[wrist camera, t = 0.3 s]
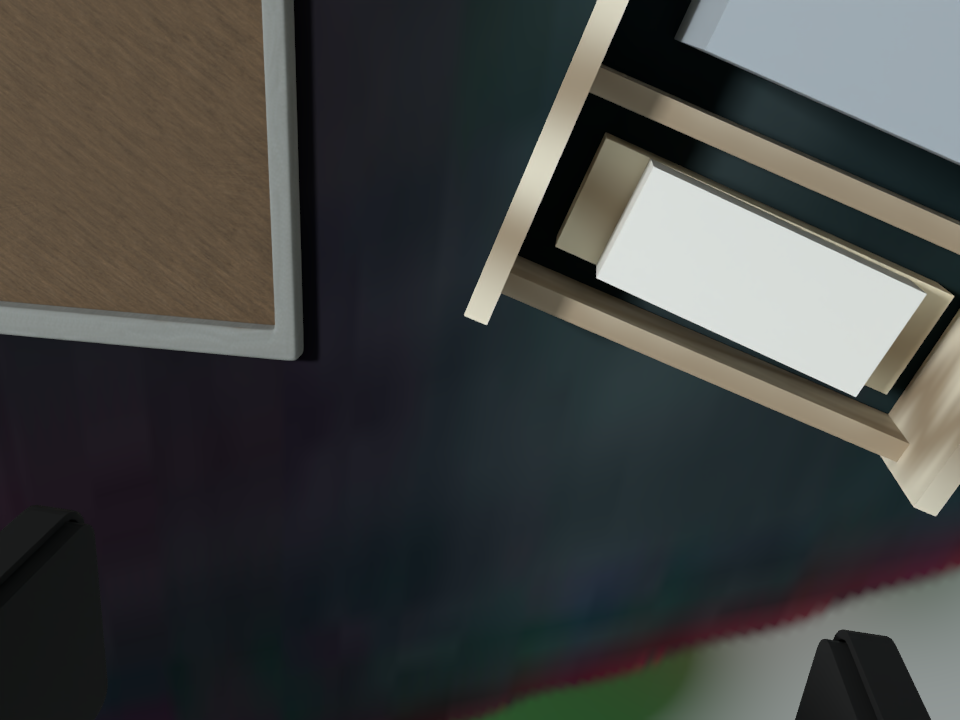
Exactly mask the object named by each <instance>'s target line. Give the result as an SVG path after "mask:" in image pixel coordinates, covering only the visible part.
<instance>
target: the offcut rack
mask: <svg viewBox="0 0 960 720" xmlns="http://www.w3.org/2000/svg"><path fill="white" fill-rule="evenodd" d="M628 2H629V0H597V3H596V5H595V7H594V10H593V12H592V14H591V17H590V19H589V21H588V24H587V26H586V29H585V31H584V33H583V36H582V38H581V40H580V43H579V45H578V47H577V50H576V52H575V54H574V57H573V59H572V62H571V64H570V66H569V69H568V71H567V73H566V76H565V78H564V80H563V83H562V85H561V87H560V90H559V92H558V95H557V97H556V99H555V102H554V104H553V106H552V109H551V111H550V113H549V116H548V118H547V120H546V123H545V125H544V128H543V130H542V132H541V135H540V137H539V139H538V142H537V144H536V146H535V149H534V151H533V153H532V156H531V158H530V161H529V163H528V165H527V168H526V170H525V172H524V175H523V177H522V179H521V182H520V184H519V186H518V189H517V191H516V194H515V196H514V198H513V201H512V203H511V205H510V208H509V210H508V212H507V215H506V217H505V220H504V222H503V224H502V227H501V229H500V231H499V234H498V236H497V238H496V241H495V243H494V245H493V248H492V250H491V253H490V255H489V257H488V260H487V262H486V264H485V267H484V269H483V271H482V274H481V276H480V278H479V281H478V283H477V286H476V288H475V290H474V293H473V295H472V297H471V300H470V302H469V304H468V307H467V309H466V311H465V314H464V316H466V317H469V318H471V319H473V320H476V321H478V322H480V323H483V324H485V325H487V324H488V321H489V319H490V317H491V314H492V312H493V310H494V308H495V305H496V303H497V301H498V298H499V296H500V294H501V293H502V294H504V295H507V296H509V297H511V298H514V299H516V300H518V301H521V302H523V303H525V304H528V305H530V306H532V307H535V308H537V309H539V310H542V311H544V312H547V313H549V314H551V315H554V316H556V317H558V318H561V319H563V320H565V321H568V322H570V323H572V324H575V325H577V326H579V327H582V328H584V329H586V330H589V331H591V332H593V333H596V334H598V335H600V336H603V337H605V338H607V339H610V340H612V341H614V342H617V343H619V344H621V345H624V346H626V347H628V348H631V349H633V350H635V351H638V352H640V353H642V354H645V355H647V356H649V357H652V358H654V359H656V360H659V361H661V362H663V363H666V364H668V365H670V366H673V367H675V368H677V369H680V370H682V371H684V372H687V373H689V374H691V375H694V376H696V377H698V378H701V379H703V380H705V381H708V382H710V383H713V384H715V385H717V386H720V387H722V388H724V389H727V390H729V391H731V392H734V393H736V394H738V395H741V396H743V397H745V398H748V399H750V400H752V401H755V402H757V403H759V404H762V405H764V406H766V407H769V408H771V409H773V410H776V411H778V412H780V413H783V414H785V415H787V416H790V417H792V418H794V419H797V420H799V421H801V422H804V423H806V424H808V425H811V426H813V427H815V428H818V429H820V430H822V431H825V432H827V433H829V434H832V435H834V436H836V437H839V438H841V439H843V440H846V441H848V442H850V443H853V444H855V445H857V446H860V447H862V448H864V449H867V450H869V451H872V452H874V453H876V454H879V455H880V456H881V457H882V459H883V460H884V462H885V464H886V465H887V467H888V468H889V470H890V471H891V473H892V474H893V476H894V477H895V479H896V481H897V482H898V484H899V485H900V487H901V488H902V490H903V491H904V493H905V494H906V496H907V498H908V499H909V501H910V502H911V504H912V505H913V507H915V508H917V509H919V510H922V511H924V512H926V513H929V514H931V515H933V516H936V515H937V514H938V513H939V511H940V510H941V509H942V507H943V506H944V505H945V503H946V502H947V501H948V499H949V498H950V497H951V495H952V494H953V492H954V491H955V490H956V488H957V487H958V486H959V484H960V309H959V311H958V312H957V314H956V315H955V317H954V318H953V319H952V321H951V322H950V324H949V325H948V327H947V328H946V330H945V331H944V333H943V334H942V336H941V337H940V339H939V340H938V342H937V343H936V345H935V346H934V348H933V349H932V351H931V352H930V353H929V355H928V356H927V358H926V359H925V361H924V362H923V364H922V365H921V367H920V368H919V370H918V371H917V373H916V374H915V376H914V377H913V379H912V380H911V382H910V383H909V385H908V386H907V387H906V389H905V390H904V392H903V393H902V395H901V396H900V398H899V399H898V401H897V402H896V404H895V405H894V407H893V408H892V410H891V411H890V413H889V414H886V413H883V412H881V411H879V410H877V409H874V408H872V407H870V406H867V405H865V404H863V403H860V402H858V401H856V400H853V399H851V398H849V397H846V396H844V395H842V394H839V393H837V392H835V391H832V390H830V389H828V388H825V387H823V386H821V385H818V384H816V383H814V382H811V381H809V380H807V379H804V378H802V377H800V376H797V375H795V374H793V373H790V372H788V371H786V370H783V369H781V368H779V367H776V366H774V365H772V364H769V363H767V362H765V361H762V360H760V359H758V358H756V357H753V356H751V355H749V354H746V353H744V352H742V351H739V350H737V349H735V348H732V347H730V346H728V345H725V344H723V343H721V342H718V341H716V340H714V339H711V338H709V337H707V336H704V335H702V334H700V333H697V332H695V331H693V330H690V329H688V328H686V327H683V326H681V325H679V324H676V323H674V322H672V321H669V320H667V319H665V318H662V317H660V316H658V315H655V314H653V313H651V312H648V311H646V310H644V309H641V308H639V307H637V306H635V305H632V304H630V303H628V302H625V301H623V300H621V299H618V298H616V297H614V296H611V295H609V294H607V293H604V292H602V291H600V290H597V289H595V288H593V287H590V286H588V285H586V284H583V283H581V282H579V281H576V280H574V279H572V278H569V277H567V276H565V275H562V274H560V273H558V272H555V271H553V270H551V269H548V268H546V267H544V266H541V265H539V264H537V263H534V262H532V261H530V260H527V259H525V258H523V257H520V256H518V253H519V250H520V248H521V246H522V244H523V241H524V239H525V237H526V234H527V232H528V230H529V228H530V225H531V223H532V221H533V219H534V216H535V214H536V212H537V209H538V207H539V205H540V203H541V200H542V198H543V196H544V193H545V191H546V189H547V187H548V184H549V182H550V180H551V177H552V175H553V173H554V171H555V168H556V166H557V164H558V161H559V159H560V157H561V155H562V152H563V150H564V148H565V145H566V143H567V141H568V139H569V136H570V134H571V132H572V130H573V127H574V125H575V123H576V120H577V118H578V116H579V114H580V111H581V109H582V107H583V104H584V102H585V100H586V98H587V95H588V93H589V92H590V93H593V94H595V95H597V96H599V97H602V98H604V99H606V100H608V101H611V102H613V103H615V104H618V105H620V106H622V107H624V108H627V109H629V110H631V111H634V112H636V113H638V114H640V115H643V116H645V117H647V118H650V119H652V120H654V121H656V122H659V123H661V124H663V125H665V126H668V127H670V128H672V129H675V130H677V131H679V132H681V133H684V134H686V135H688V136H691V137H693V138H695V139H697V140H700V141H702V142H704V143H706V144H709V145H711V146H713V147H716V148H718V149H720V150H722V151H725V152H727V153H729V154H732V155H734V156H736V157H738V158H741V159H743V160H745V161H748V162H750V163H752V164H754V165H757V166H759V167H761V168H763V169H766V170H768V171H770V172H773V173H775V174H777V175H779V176H782V177H784V178H786V179H789V180H791V181H793V182H795V183H798V184H800V185H802V186H804V187H807V188H809V189H811V190H814V191H816V192H818V193H820V194H823V195H825V196H827V197H830V198H832V199H834V200H836V201H839V202H841V203H843V204H846V205H848V206H850V207H852V208H855V209H857V210H859V211H861V212H864V213H866V214H868V215H871V216H873V217H875V218H877V219H880V220H882V221H884V222H887V223H889V224H891V225H893V226H896V227H898V228H900V229H902V230H905V231H907V232H909V233H912V234H914V235H916V236H918V237H921V238H923V239H925V240H928V241H930V242H932V243H934V244H937V245H939V246H941V247H944V248H946V249H948V250H950V251H953V252H955V253H957V254H959V255H960V221H958V220H955V219H953V218H951V217H948V216H946V215H944V214H942V213H939V212H937V211H935V210H933V209H930V208H928V207H926V206H923V205H921V204H919V203H917V202H914V201H912V200H910V199H908V198H905V197H903V196H901V195H898V194H896V193H894V192H892V191H889V190H887V189H885V188H883V187H880V186H878V185H876V184H873V183H871V182H869V181H867V180H864V179H862V178H860V177H858V176H855V175H853V174H851V173H848V172H846V171H844V170H842V169H839V168H837V167H835V166H833V165H830V164H828V163H826V162H824V161H821V160H819V159H817V158H814V157H812V156H810V155H808V154H805V153H803V152H801V151H799V150H796V149H794V148H792V147H789V146H787V145H785V144H783V143H780V142H778V141H776V140H774V139H771V138H769V137H767V136H764V135H762V134H760V133H758V132H755V131H753V130H751V129H749V128H746V127H744V126H742V125H739V124H737V123H735V122H733V121H730V120H728V119H726V118H724V117H721V116H719V115H717V114H715V113H712V112H710V111H708V110H705V109H703V108H701V107H699V106H696V105H694V104H692V103H690V102H687V101H685V100H683V99H680V98H678V97H676V96H674V95H671V94H669V93H667V92H665V91H662V90H660V89H658V88H655V87H653V86H651V85H649V84H646V83H644V82H642V81H640V80H637V79H635V78H633V77H630V76H628V75H626V74H624V73H621V72H619V71H617V70H615V69H612V68H610V67H608V66H605V65H603V64H601V63H602V61H603V59H604V56H605V54H606V52H607V50H608V47H609V45H610V43H611V40H612V38H613V36H614V34H615V31H616V29H617V27H618V25H619V22H620V20H621V18H622V15H623V13H624V11H625V9H626V6H627V4H628Z"/></svg>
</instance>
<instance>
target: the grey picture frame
mask: <svg viewBox="0 0 960 720" xmlns="http://www.w3.org/2000/svg"><path fill="white" fill-rule="evenodd" d="M0 334H7V335H17V336H28V337H39V338H50V339H61V340H71V341H82V342H93V343H104V344H115V345H125V346H136V347H147V348H158V349H169V350H179V351H190V352H201V353H212V354H223V355H233V356H244V357H255V358H266V359H277V360H296V359H298V358H299V357H300V356H301V354H302V353H303V347H304V344H303V304H302V270H301V236H300V201H299V167H298V133H297V99H296V64H295V30H294V0H0Z"/></svg>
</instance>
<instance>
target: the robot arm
mask: <svg viewBox="0 0 960 720" xmlns="http://www.w3.org/2000/svg"><path fill="white" fill-rule="evenodd" d="M106 692H107V671H106V659H105V648H104V636H103V624H102V613H101V601H100V590H99V578H98V567H97V555H96V544H95V534H94V530H93V528H92V526H90V525H88V524H84V520H83V517H82V516H81V514H80V513H79V512H77V511H72V510H66V509H59V508H53V507H47V506H40V505H34V506H30V507H29V508H27V509H26V510H24V511H23V512H22V513H21V514H20V515H19V516H17V517H16V518H15V519H14V520H13V521H12V522H11V523H9V524H8V525H7V526H6V527H5V528H4V529H3V530H2V531H0V720H94V719H95V718H96V716H97V715H98V713H99V711H100V710H101V708H102V705H103V703H104V700H105V697H106ZM795 720H931V719H930V717H929V714H928V712H927V710H926V708H925V706H924V704H923V702H922V700H921V698H920V695H919V693H918V691H917V689H916V687H915V685H914V683H913V681H912V679H911V677H910V674H909V672H908V670H907V668H906V666H905V664H904V662H903V660H902V658H901V655H900V653H899V651H898V649H897V647H896V645H895V644H894V642H893V641H892V639H891V638H889V637H887V636H881V635H875V634H868V633H861V632H855V631H849V630H840V631H838V633H837V634H836V635H835V637H834V639H833V640H828V639H823V640H821V641H820V643H819V645H818V647H817V650H816V654H815V657H814V660H813V663H812V667H811V670H810V673H809V676H808V680H807V683H806V686H805V689H804V693H803V696H802V699H801V702H800V706H799V709H798V712H797V715H796V718H795Z"/></svg>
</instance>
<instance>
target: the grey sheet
mask: <svg viewBox="0 0 960 720" xmlns="http://www.w3.org/2000/svg"><path fill="white" fill-rule="evenodd" d="M674 39H675V40H677V41H680V42H682V43H684V44H686V45H689V46H691V47H693V48H695V49H698V50H700V51H702V52H704V53H707V54H709V55H711V56H714V57H716V58H718V59H720V60H723V61H725V62H727V63H729V64H732V65H734V66H736V67H738V68H741V69H743V70H745V71H747V72H750V73H752V74H754V75H756V76H759V77H761V78H763V79H765V80H768V81H770V82H772V83H774V84H777V85H779V86H781V87H783V88H786V89H788V90H790V91H793V92H795V93H797V94H799V95H802V96H804V97H806V98H808V99H811V100H813V101H815V102H817V103H820V104H822V105H824V106H826V107H829V108H831V109H833V110H835V111H838V112H840V113H842V114H844V115H847V116H849V117H851V118H853V119H856V120H858V121H860V122H863V123H865V124H867V125H869V126H872V127H874V128H876V129H878V130H881V131H883V132H885V133H887V134H890V135H892V136H894V137H896V138H899V139H901V140H903V141H905V142H908V143H910V144H912V145H914V146H917V147H919V148H921V149H923V150H926V151H928V152H930V153H932V154H935V155H937V156H939V157H942V158H944V159H946V160H948V161H951V162H953V163H955V164H957V165H960V0H692V1H691V3H690V5H689V7H688V9H687V11H686V14H685V16H684V18H683V20H682V22H681V24H680V26H679V29H678V31H677V33H676V35H675V37H674Z"/></svg>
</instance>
